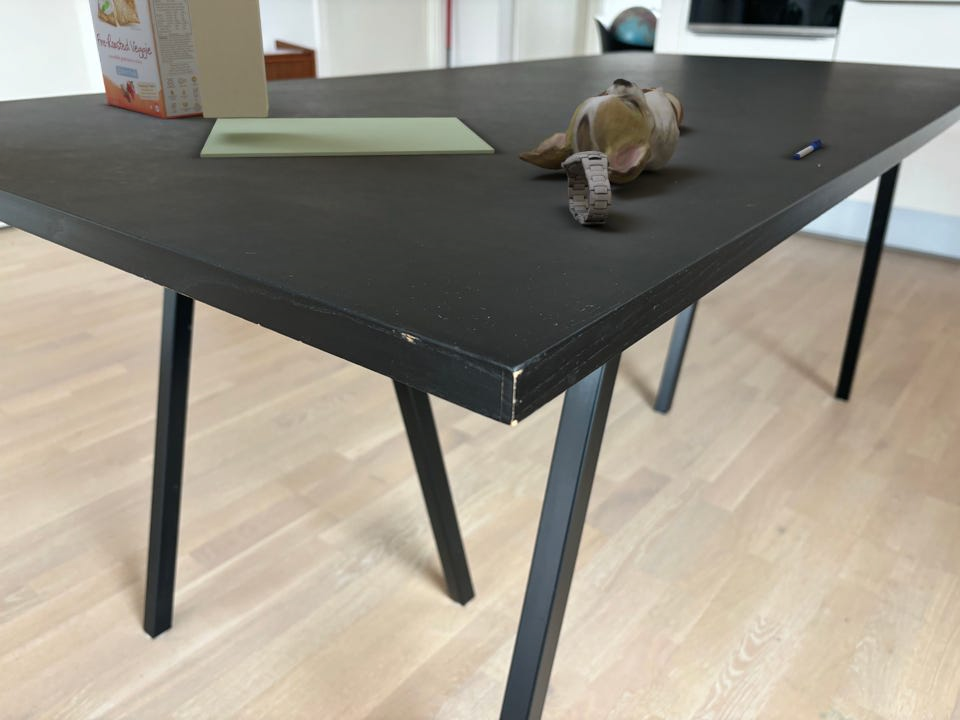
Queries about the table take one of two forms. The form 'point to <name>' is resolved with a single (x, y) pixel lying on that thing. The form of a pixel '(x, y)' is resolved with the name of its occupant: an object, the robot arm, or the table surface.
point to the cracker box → (148, 56)
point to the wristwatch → (588, 187)
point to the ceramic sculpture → (616, 132)
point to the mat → (340, 137)
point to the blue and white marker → (808, 149)
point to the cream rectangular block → (229, 58)
